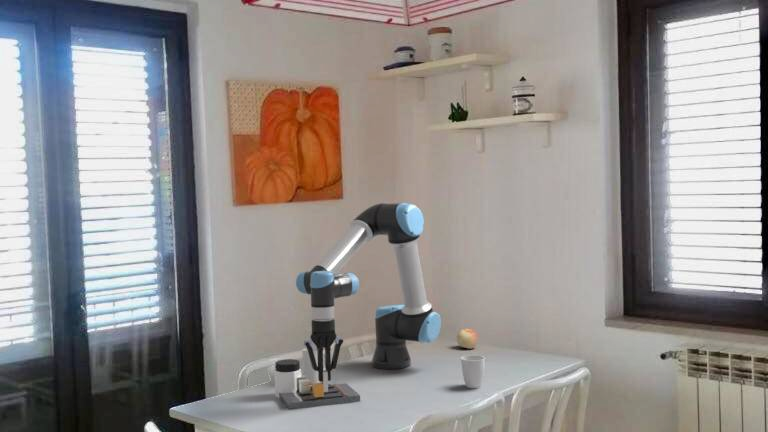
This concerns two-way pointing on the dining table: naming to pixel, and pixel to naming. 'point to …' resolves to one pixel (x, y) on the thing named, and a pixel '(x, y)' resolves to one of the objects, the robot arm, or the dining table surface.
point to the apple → (467, 338)
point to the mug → (307, 365)
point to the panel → (306, 398)
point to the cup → (473, 370)
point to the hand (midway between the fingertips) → (324, 390)
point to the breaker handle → (318, 389)
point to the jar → (286, 376)
